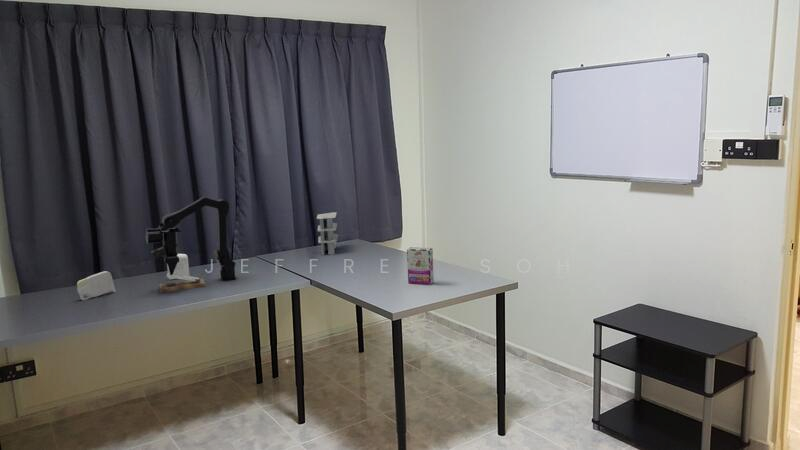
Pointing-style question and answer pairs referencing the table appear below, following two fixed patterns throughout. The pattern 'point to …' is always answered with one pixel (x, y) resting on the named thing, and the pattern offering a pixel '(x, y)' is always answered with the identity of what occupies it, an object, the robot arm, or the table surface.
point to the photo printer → (181, 266)
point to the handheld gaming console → (95, 285)
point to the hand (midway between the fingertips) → (171, 274)
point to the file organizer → (327, 232)
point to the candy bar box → (420, 265)
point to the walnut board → (181, 285)
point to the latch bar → (182, 277)
